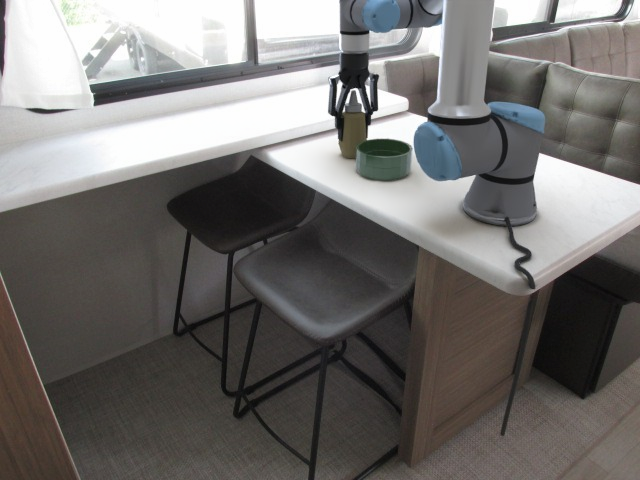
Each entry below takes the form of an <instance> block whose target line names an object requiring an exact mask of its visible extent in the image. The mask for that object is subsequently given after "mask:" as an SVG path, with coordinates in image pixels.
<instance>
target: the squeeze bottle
mask: <svg viewBox="0 0 640 480" xmlns="http://www.w3.org/2000/svg"><path fill="white" fill-rule="evenodd" d="M342 117H344V132H343V141H342V142H341V141H340V140H339V139H338V142H337V143H338V147H339V150H340V154H341V156H342V157H344V158H348V159H356V146H357V145H358V144H359V143H361V142H363V141H366V140H368V138H367V137H366V123H365V111H363V104H362V102H361V103H360V102H359V101H358V95H357V91H356V90H354V89H351V90H350V96H349V100H348V102H346V103H345V106H344V110H343V113H342Z"/></svg>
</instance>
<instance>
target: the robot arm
mask: <svg viewBox="0 0 640 480" xmlns="http://www.w3.org/2000/svg"><path fill="white" fill-rule="evenodd" d="M338 2H339V50H340V52H339V71H338V73H337V74H336V75H334V76H328V78H327V80H328V84H329V91H328V104H327V105H328V106H327V114H328V115H329V116H331V117H334V128H335V129H336V130H337V139H338V141H339V140H340V141H341V142H342V141H343V132H344V117H342V113H343V112H344V111H345V104H346V103H347V100H348V96H349V94H351V91H352V90H354V89H357V90H358V94H359V98H360V100H361V104H362V108H363V111H364V113H365V123H366V137H367V139H368V137H369V126H371V125H372V116H373V114H374V113H375V112H378V111H379V94H378V93H379V92H378V82H379V79H380V74H378V73H376V72H371V71H370V70H369V63H370V62H369V61H370V53H369V52H368V51H369V50H370V32H373V33H376V34H379V33H380V34H381V33H382V34H386V33H390V32H391V31H394V30H404V29H421V28H425V29H426V28H427V29H428V28H433V27H436V26H441V31H440V44H439V45H440V46H439V61H438V72H437V73H438V74H437V75H438V76H437V88H436V89H437V90H436V100H435V102H433V103H432V104H430V106H429V107H428V108H427V117H426V118H427V119H426V120H427V121H424V122H422V123H420V125H418V126H417V127H416V130H415V131H414V135H413V150H414V151H413V152H414V155H415V158H416V161H417V163H418V164H419V167H420V169H421V170H422V172H423V173H424V174H425V175H426V176H427V177H428V178H430V179H431V180H432V181H437V182H446V181H458V180H459V179H463V178H468V177H469V178H470V177H473V176H474V178H473V180H472V183H471V185H470V187H469V189H468V191H467V192H466V194H465V196H464V198H463V205H462V208H463V209H462V210H463V211H464V213H466V215H468V216H469V217H471V218H473V219H475V220H476V221H479V222H482V223H485V224H489V225H495V226H504V227H506V228H507V230H508V231H507V232H508V236H509V241H510V244H512V246H513V247H515V249H518V250H519V251H521V252H524V253H526V254H525V255H523V256H520V257H517V259H516V260H515V261H514V267H515V268H516V269H517V270H518V271H519V272H520V273H522V274H523V275H525V277H526V278H527V281H528V285H529V288H530V289H531V290H532V291H533V290H536V283H535V280H534V277H533V276H532V273H530V272H529V270H527V269H526V268H524V267H523V266H522V265H521V264H520V263H522V262H525V261H528V260H530V259H531V258H532V256H533V253H532V251H531V250H530V249H529V248H527V247H525V246H523V245H521V244H520V243H518V242H517V241H516V238H515V235H514V230H513V226H514V227H516V226H521V225H526V224H528V223H530V222H532V221H533V220H535V218H536V214H537V210H538V205H537V200H536V192H535V191H536V190H535V184H534V181H535V174H536V169H537V166H538V161H539V157H540V152H541V149H542V143H543V138H544V134H545V125H546V115H545V113H544V112H543V111H541V110H540V109H538V108H535V107H532V106H528V105H525V104H520V103H515V102H508V101H507V102H506V101H491V102H488V103H486V102H485V94H486V93H485V92H486V84H487V75H488V65H489V55H490V47H491V37H492V28H493V18H494V9H495V0H338ZM367 80H368V81H369V95H368V93H367V86H366V82H367ZM339 81H340V82H341V87H340V94H339V96H338V85H339ZM337 97H338V99H337ZM534 304H535V299H533V300H530V301H529V300H528V303H527V307H526V311H525V312H526V313H525V319H524V326H523V331H522V338H521V341H520V346H519V353H518V357H517V362H516V367H515V370H514V376H513V380H512V382H511V383H512V384H511V386H510V391H509V395H508V399H507V402H506V403H507V404H506V406H505V412H504V415H503V419H502V424H501V428H500V433H499V434H500V436H501V437H504V436H506V435H505V434H506V431H507V426H508V423H509V418H510V414H511V410H512V406H513V402H514V398H515V395H516V390H517V387H518V382H519V379H520V374H521V371H522V366H523V361H524V357H525V353H526V347H527V342H528V336H529V333H530V332H529V330H530V324H531V318H532V314H533V308H534Z"/></svg>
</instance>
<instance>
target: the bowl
mask: <svg viewBox="0 0 640 480" xmlns="http://www.w3.org/2000/svg"><path fill="white" fill-rule="evenodd" d="M413 150H414V147H413V146H412V145H411V144H410V143H408V142H405V141H403V140H399V139H393V138H373V139H367V140H366V141H363V142H361V143H359V144H358V145H357V146H356V158H355V170H356V172H357V173H359V175H360V176H361V177H363V178H366V179H369V180H372V181H382V182H388V181H389V182H391V181H396V180H401V179H403V178H405V177H406V176H408V175H409V174H410V173H411V170H412V163H413V162H412V161H413V152H414V151H413Z"/></svg>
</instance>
